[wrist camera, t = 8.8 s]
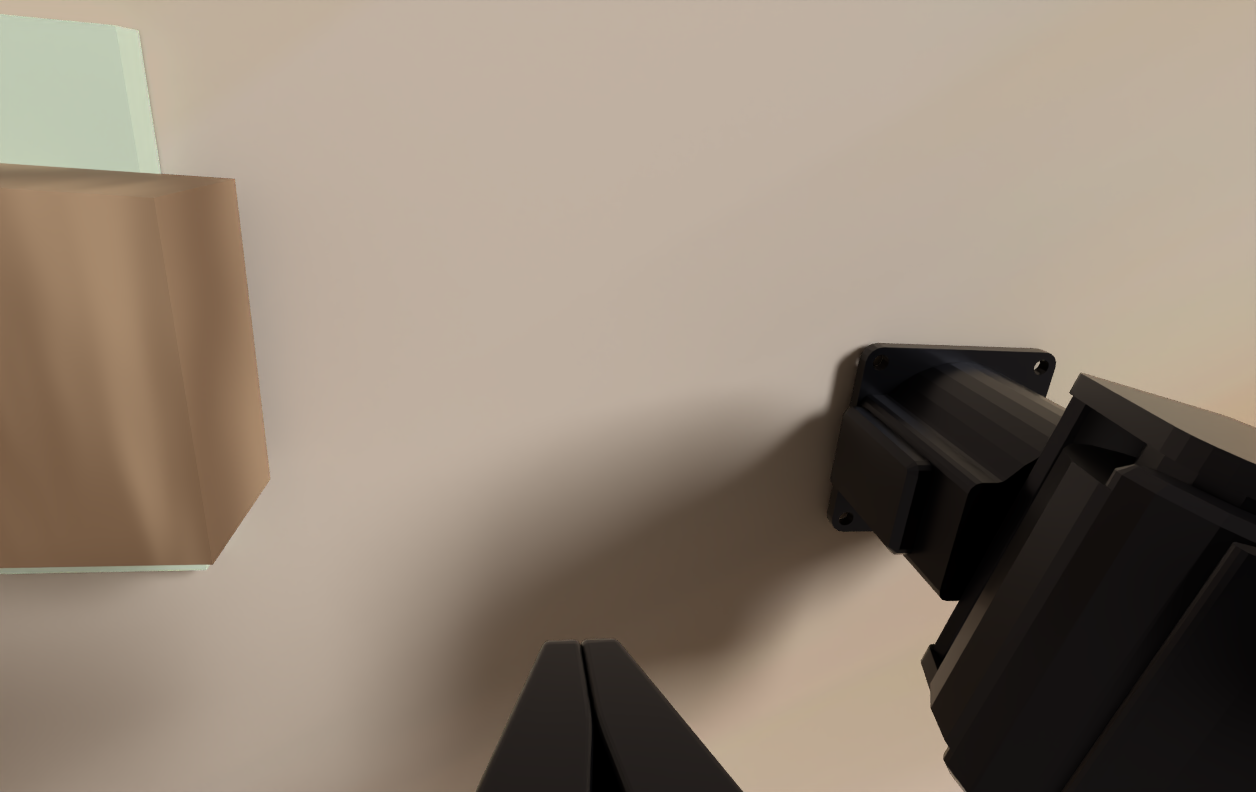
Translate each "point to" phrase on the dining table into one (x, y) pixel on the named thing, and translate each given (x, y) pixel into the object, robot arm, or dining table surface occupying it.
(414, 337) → the dining table surface
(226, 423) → the walnut block
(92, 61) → the rubber pad
